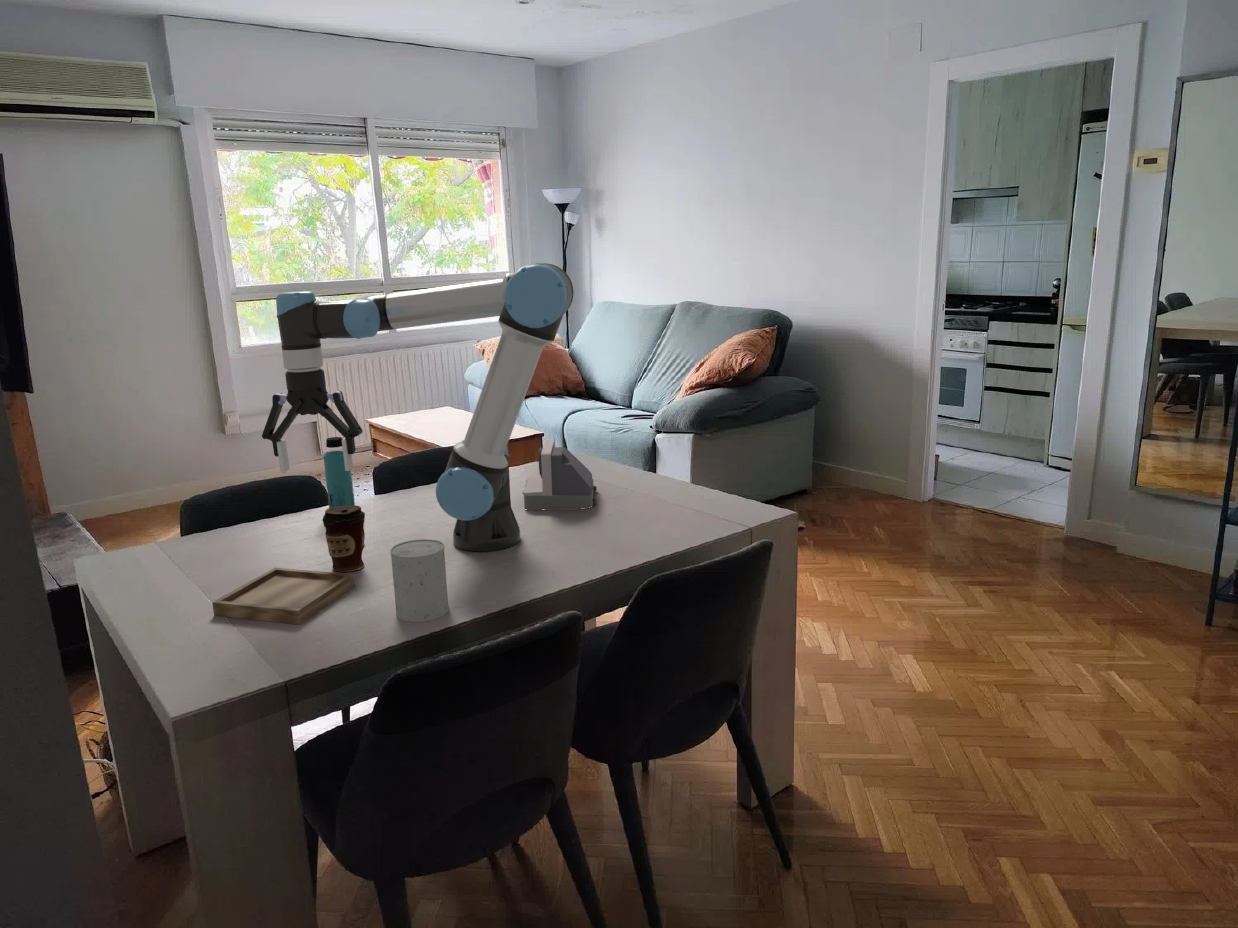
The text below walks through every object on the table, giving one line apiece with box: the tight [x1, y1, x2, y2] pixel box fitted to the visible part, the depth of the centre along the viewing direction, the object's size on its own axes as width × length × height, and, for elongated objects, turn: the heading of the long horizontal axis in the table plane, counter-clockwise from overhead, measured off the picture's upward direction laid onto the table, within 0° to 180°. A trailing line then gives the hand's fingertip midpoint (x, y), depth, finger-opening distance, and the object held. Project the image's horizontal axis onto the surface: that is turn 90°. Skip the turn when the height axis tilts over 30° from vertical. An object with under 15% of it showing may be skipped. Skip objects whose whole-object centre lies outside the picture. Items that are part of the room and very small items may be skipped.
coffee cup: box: [321, 504, 366, 573], centre depth 176 cm, size 9×8×13 cm
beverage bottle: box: [322, 436, 356, 508], centre depth 212 cm, size 6×7×20 cm
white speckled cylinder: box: [389, 538, 450, 623], centre depth 153 cm, size 10×10×12 cm
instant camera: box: [522, 438, 598, 511], centre depth 222 cm, size 21×21×15 cm
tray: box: [212, 567, 356, 625], centre depth 161 cm, size 18×18×3 cm
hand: (317, 470), depth 176 cm, fingers open, 13 cm apart
